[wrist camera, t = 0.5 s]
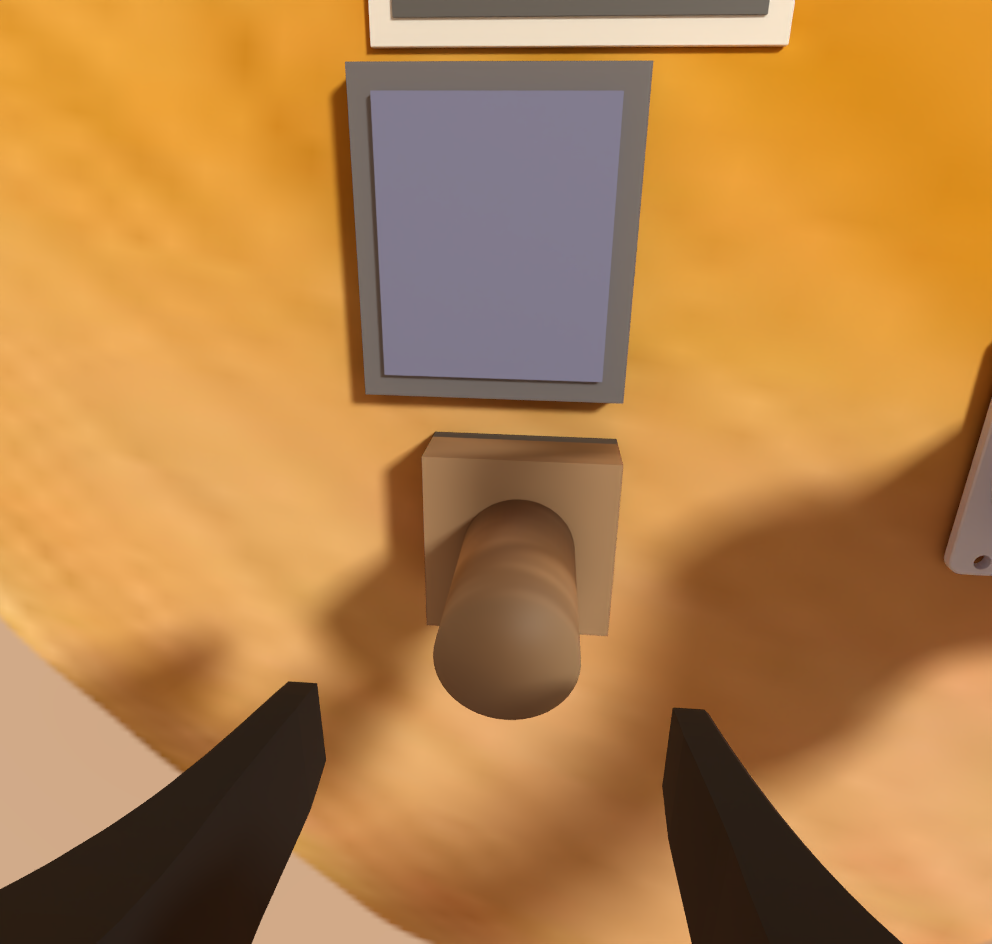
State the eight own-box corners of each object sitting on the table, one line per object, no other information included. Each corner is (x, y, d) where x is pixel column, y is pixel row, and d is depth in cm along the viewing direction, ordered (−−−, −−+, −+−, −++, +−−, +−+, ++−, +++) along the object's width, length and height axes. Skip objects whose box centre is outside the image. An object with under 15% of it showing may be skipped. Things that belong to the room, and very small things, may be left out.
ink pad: (648, 68, 18) (654, 58, 16) (620, 395, 21) (623, 405, 20) (356, 69, 18) (342, 59, 17) (373, 386, 22) (363, 396, 20)
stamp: (616, 438, 22) (647, 556, 14) (602, 594, 24) (623, 767, 16) (435, 430, 22) (375, 541, 15) (438, 585, 24) (387, 749, 17)
